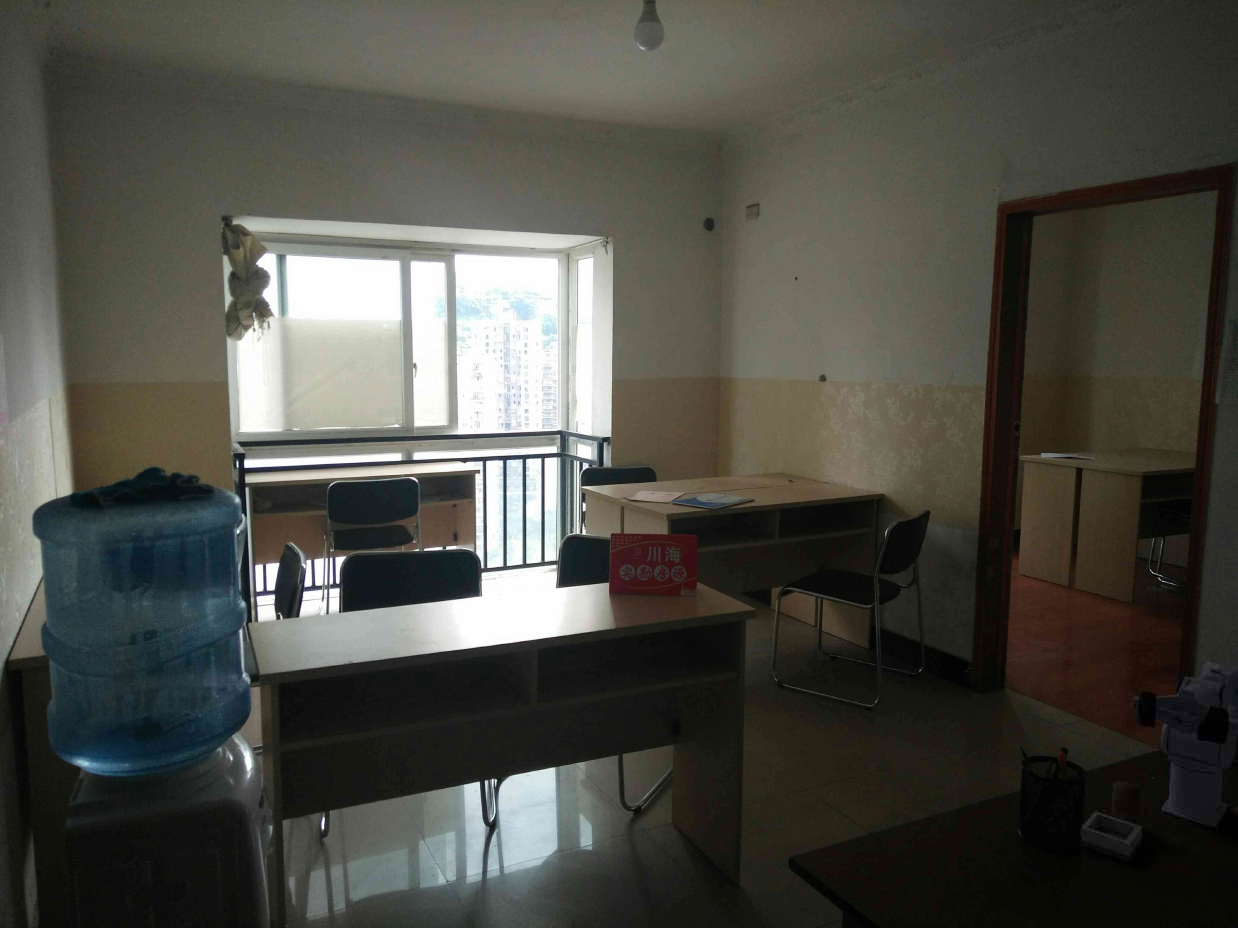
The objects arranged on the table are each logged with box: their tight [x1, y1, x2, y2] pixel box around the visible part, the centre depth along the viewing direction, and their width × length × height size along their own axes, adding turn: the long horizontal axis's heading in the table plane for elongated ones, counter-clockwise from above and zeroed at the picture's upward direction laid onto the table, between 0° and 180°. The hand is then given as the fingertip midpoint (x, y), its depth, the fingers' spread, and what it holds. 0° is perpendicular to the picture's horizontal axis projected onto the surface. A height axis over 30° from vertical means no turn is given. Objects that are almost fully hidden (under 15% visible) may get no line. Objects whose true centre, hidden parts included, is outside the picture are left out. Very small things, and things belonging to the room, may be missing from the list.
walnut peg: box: [1111, 780, 1141, 826], centre depth 145 cm, size 4×4×7 cm
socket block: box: [1080, 811, 1143, 863], centre depth 140 cm, size 7×7×3 cm
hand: (1170, 726), depth 134 cm, fingers open, 7 cm apart
